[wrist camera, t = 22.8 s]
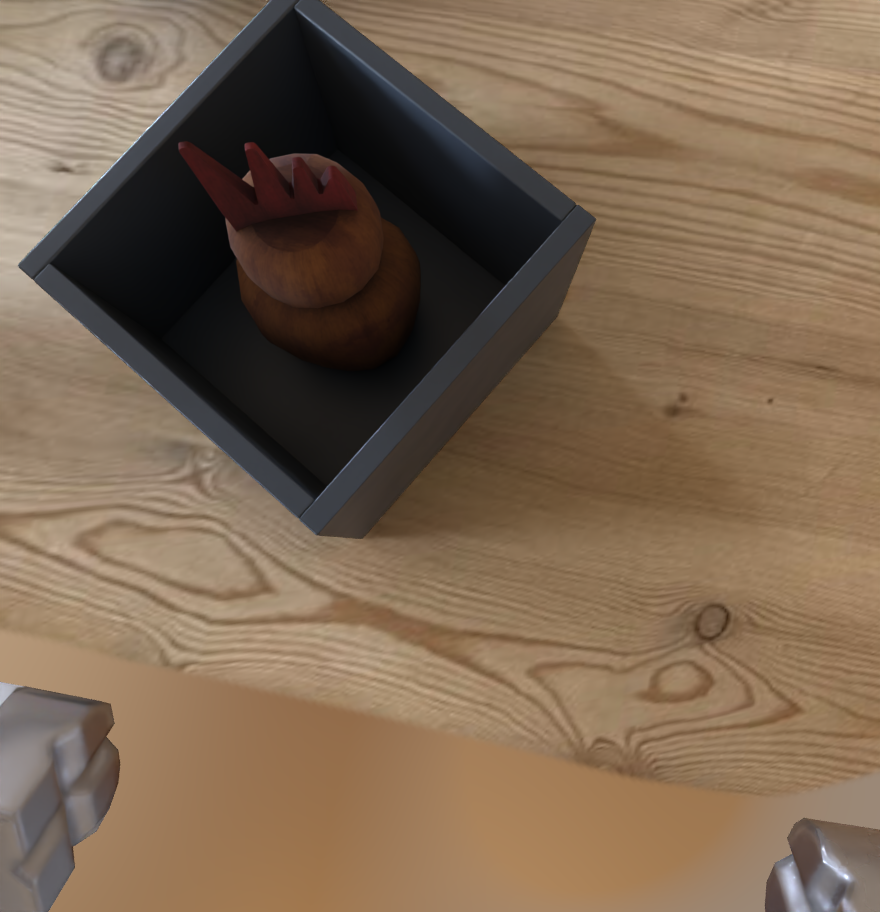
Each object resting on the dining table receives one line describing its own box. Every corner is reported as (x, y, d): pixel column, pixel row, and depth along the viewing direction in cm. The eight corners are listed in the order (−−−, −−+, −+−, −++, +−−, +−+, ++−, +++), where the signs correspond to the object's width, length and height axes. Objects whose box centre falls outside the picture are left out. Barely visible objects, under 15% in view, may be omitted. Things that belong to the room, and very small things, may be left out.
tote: (557, 315, 34) (596, 218, 24) (362, 539, 33) (316, 535, 23) (340, 138, 35) (291, -24, 25) (146, 347, 34) (15, 264, 24)
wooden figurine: (262, 366, 33) (93, 213, 18) (295, 246, 33) (160, 3, 18) (408, 400, 32) (360, 273, 17) (439, 278, 33) (418, 55, 18)
